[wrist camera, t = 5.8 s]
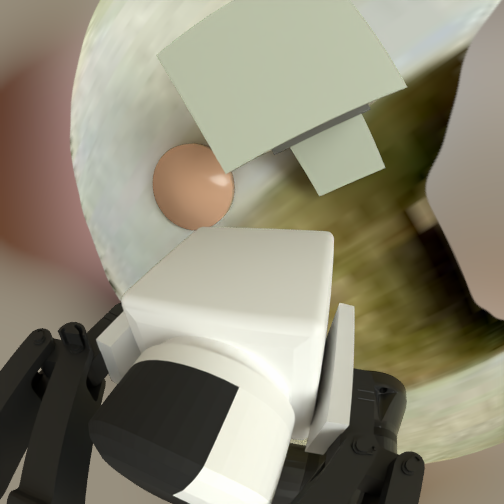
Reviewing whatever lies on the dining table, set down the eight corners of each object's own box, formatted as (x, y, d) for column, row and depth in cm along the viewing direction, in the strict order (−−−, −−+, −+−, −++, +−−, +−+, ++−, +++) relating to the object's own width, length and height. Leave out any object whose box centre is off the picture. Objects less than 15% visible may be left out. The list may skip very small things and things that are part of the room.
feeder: (396, 158, 25) (450, 193, 12) (306, 198, 29) (276, 264, 16) (328, 36, 21) (314, -39, 8) (240, 82, 26) (156, 55, 13)
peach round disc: (250, 204, 31) (247, 207, 30) (184, 238, 36) (180, 242, 35) (206, 126, 29) (201, 127, 28) (145, 171, 33) (139, 173, 32)
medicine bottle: (216, 326, 18) (120, 483, 8) (198, 224, 15) (22, 387, 5) (326, 340, 16) (281, 539, 6) (334, 229, 13) (287, 508, 3)
